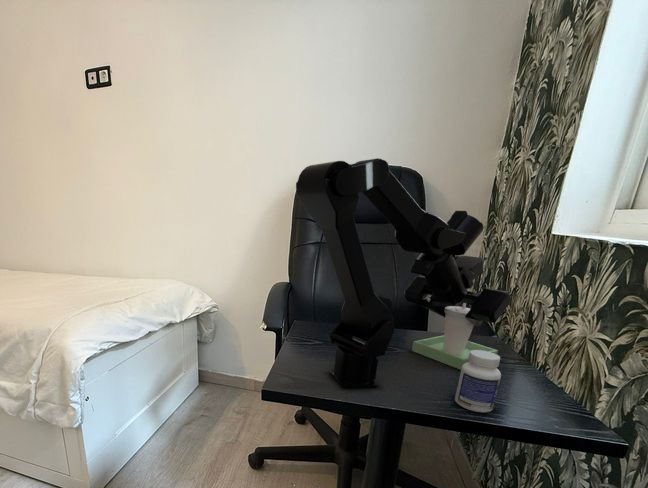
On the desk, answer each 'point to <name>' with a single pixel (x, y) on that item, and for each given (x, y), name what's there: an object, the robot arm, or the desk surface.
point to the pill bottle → (479, 382)
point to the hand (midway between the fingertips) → (463, 321)
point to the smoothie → (456, 329)
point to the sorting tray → (435, 351)
